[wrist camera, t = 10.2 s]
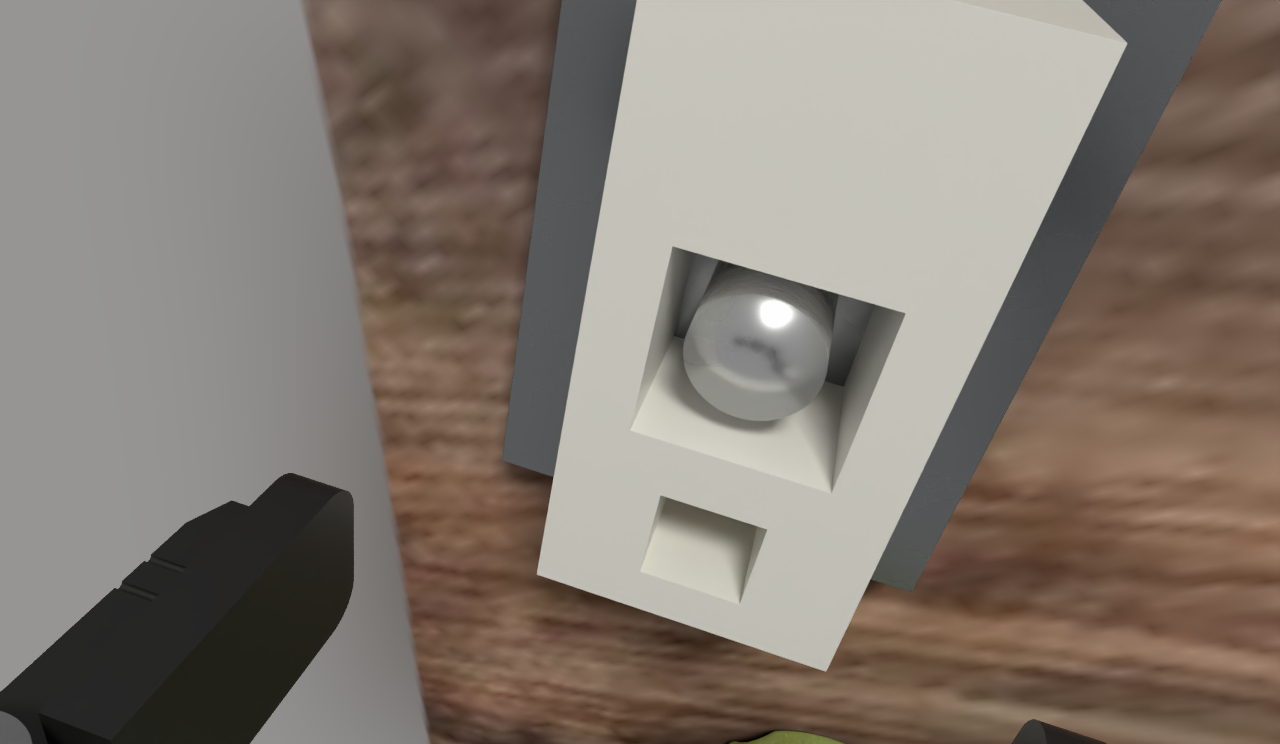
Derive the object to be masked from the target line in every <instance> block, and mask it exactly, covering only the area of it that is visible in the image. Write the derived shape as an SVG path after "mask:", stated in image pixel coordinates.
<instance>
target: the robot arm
mask: <svg viewBox="0 0 1280 744" xmlns="http://www.w3.org/2000/svg"><path fill="white" fill-rule="evenodd" d="M353 505H354V504H353V498H352V495H351V494H350V493H349V492H348V491H345V490H342V489H339V488H336V487H333V486H330V485H327V484H324V483H321V482H318V481H315V480H312V479H309V478H306V477H303V476H300V475H296V474H293V473H288V474H285V475H283V476H281V477H280V478H278V479H277V480H276V481H275V482H274V483H273V484H272V485H271V486H270V487H269V488H268V489H267V490H266V491H265V492H264V493H263V494H261V495H260V496H259V497H258V498H257V500H255V501H254V502H253V503H252V504H251V505H250V506H246V505H243V504H240V503H237V502H234V501H230V502H228V503H226V504H224V505H222V506H220V507H218V508H216V509H213V510H211V511H209V512H207V513H205V514H203V515H201V516H199V517H197V518H195V519H193V520H191V521H189V522H187V523H185V524H184V525H183V526H182V527H181V528H180V529H179V530H178V531H177V532H175V533H174V534H173V535H172V536H171V537H170V538H169V539H168V540H167V541H166V542H164V543H163V544H162V545H161V546H160V547H159V548H158V549H157V550H156V551H155V552H154V553H152V554H151V558H150V560H149V561H148V562H145V561H144V562H143V563H141V564H140V565H139V566H138V567H137V568H136V569H135V570H134V571H133V572H132V573H131V574H130V575H128V576H127V577H126V578H125V579H124V580H123V581H122V585H121V586H120V588H119V589H116V588H114V589H113V590H112V591H111V592H110V593H109V594H108V595H106V596H105V597H104V598H103V599H102V600H101V601H100V602H99V603H98V604H97V605H96V606H94V607H93V608H92V609H91V610H90V611H89V612H88V613H87V614H86V615H85V616H84V617H82V618H81V619H80V620H79V621H78V622H77V623H76V624H75V625H74V626H72V627H71V628H70V629H69V630H68V631H67V632H66V633H65V634H64V635H63V636H62V637H60V638H59V639H58V640H57V641H56V642H55V643H54V644H53V645H52V646H51V647H50V648H48V649H47V650H46V651H45V652H44V653H43V654H42V655H41V656H40V657H39V658H37V659H36V660H35V661H34V662H33V663H32V664H31V665H30V666H29V667H28V668H26V669H25V670H24V671H23V672H22V673H21V674H20V675H19V676H18V677H17V678H15V679H14V680H13V681H12V682H11V683H10V684H9V685H8V686H7V687H6V688H5V689H3V690H2V691H1V692H0V744H250V742H251V741H252V740H253V739H254V737H255V736H256V735H257V733H258V732H259V731H260V729H261V728H262V726H263V725H264V724H265V723H266V721H267V720H268V719H269V717H270V716H271V715H272V713H273V712H274V711H275V709H276V708H277V706H278V705H279V704H280V703H281V701H282V700H283V698H284V697H285V696H286V694H287V693H288V692H289V690H290V689H291V688H292V687H293V685H294V684H295V682H296V681H297V680H298V679H299V677H300V676H301V674H302V673H303V672H304V671H305V669H306V668H307V667H308V665H309V664H310V663H311V661H312V660H313V659H314V657H315V656H316V655H317V653H318V652H319V650H320V649H321V648H322V646H323V645H324V644H325V642H326V641H327V640H328V639H329V637H330V636H331V635H332V633H333V632H334V630H335V629H336V627H337V626H338V624H339V622H340V620H341V619H342V617H343V615H344V612H345V610H346V608H347V605H348V603H349V599H350V596H351V592H352V588H353V581H354V506H353ZM1012 744H1106V743H1105V742H1102V741H1099V740H1096V739H1093V738H1090V737H1087V736H1084V735H1081V734H1078V733H1074V732H1071V731H1068V730H1065V729H1062V728H1059V727H1056V726H1053V725H1050V724H1047V723H1044V722H1041V721H1038V720H1035V719H1033V720H1030V721H1028V722H1027V723H1026V724H1024V726H1023V727H1022V728H1021V730H1020V731H1019V733H1018V734H1017V736H1016V737H1015V739H1014V740H1013V742H1012Z"/></svg>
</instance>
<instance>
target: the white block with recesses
mask: <svg viewBox="0 0 1280 744" xmlns="http://www.w3.org/2000/svg"><path fill="white" fill-rule="evenodd" d="M1126 45H1127V42H1126V41H1125V40H1124V39H1123V38H1122V37H1121V36H1120V35H1119V34H1117V33H1116V32H1115V31H1114V30H1113V29H1112V28H1111V27H1110V26H1109V25H1108V24H1107V23H1106V22H1105V21H1104V20H1103V19H1102V18H1101V17H1100V16H1099V15H1098V14H1097V13H1095V12H1094V11H1093V10H1092V9H1091V8H1090V7H1089V6H1088V5H1087V4H1086V3H1085V2H1084V1H1083V0H637V2H636V8H635V14H634V20H633V25H632V31H631V37H630V43H629V48H628V54H627V60H626V65H625V71H624V77H623V83H622V88H621V94H620V100H619V106H618V111H617V117H616V123H615V129H614V134H613V140H612V146H611V151H610V157H609V163H608V169H607V174H606V180H605V186H604V192H603V197H602V203H601V209H600V215H599V220H598V226H597V232H596V238H595V243H594V249H593V255H592V260H591V266H590V272H589V278H588V283H587V289H586V295H585V301H584V306H583V312H582V318H581V324H580V329H579V335H578V341H577V346H576V352H575V358H574V364H573V369H572V375H571V381H570V387H569V392H568V398H567V404H566V410H565V415H564V421H563V427H562V432H561V438H560V444H559V450H558V455H557V461H556V467H555V473H554V478H553V484H552V490H551V496H550V501H549V507H548V513H547V519H546V524H545V530H544V536H543V541H542V547H541V553H540V559H539V564H538V570H537V575H540V576H543V577H546V578H549V579H552V580H555V581H558V582H561V583H564V584H567V585H570V586H573V587H576V588H579V589H582V590H585V591H588V592H590V593H593V594H596V595H599V596H602V597H605V598H608V599H611V600H614V601H617V602H620V603H623V604H626V605H629V606H632V607H635V608H638V609H641V610H644V611H647V612H650V613H653V614H656V615H659V616H662V617H665V618H668V619H671V620H674V621H677V622H680V623H683V624H686V625H689V626H692V627H695V628H698V629H701V630H704V631H706V632H709V633H712V634H715V635H718V636H721V637H724V638H727V639H730V640H733V641H736V642H739V643H742V644H745V645H748V646H751V647H754V648H757V649H760V650H763V651H766V652H769V653H772V654H775V655H778V656H781V657H784V658H787V659H790V660H793V661H796V662H799V663H802V664H805V665H808V666H811V667H814V668H817V669H820V670H823V671H825V672H826V671H827V669H828V667H829V665H830V662H831V660H832V658H833V656H834V654H835V652H836V650H837V648H838V646H839V644H840V642H841V640H842V637H843V635H844V633H845V631H846V629H847V627H848V625H849V623H850V621H851V619H852V617H853V615H854V612H855V610H856V608H857V606H858V604H859V602H860V600H861V598H862V596H863V594H864V592H865V590H866V587H867V585H868V583H869V581H870V579H871V577H872V575H873V573H874V571H875V569H876V567H877V565H878V562H879V560H880V558H881V556H882V554H883V552H884V550H885V548H886V546H887V544H888V542H889V540H890V537H891V535H892V533H893V531H894V529H895V527H896V525H897V523H898V521H899V519H900V517H901V514H902V512H903V510H904V508H905V506H906V504H907V502H908V500H909V498H910V496H911V494H912V492H913V489H914V487H915V485H916V483H917V481H918V479H919V477H920V475H921V473H922V471H923V469H924V467H925V464H926V462H927V460H928V458H929V456H930V454H931V452H932V450H933V448H934V446H935V444H936V442H937V439H938V437H939V435H940V433H941V431H942V429H943V427H944V425H945V423H946V421H947V419H948V417H949V414H950V412H951V410H952V408H953V406H954V404H955V402H956V400H957V398H958V396H959V394H960V392H961V389H962V387H963V385H964V383H965V381H966V379H967V377H968V375H969V373H970V371H971V369H972V366H973V364H974V362H975V360H976V358H977V356H978V354H979V352H980V350H981V348H982V346H983V344H984V341H985V339H986V337H987V335H988V333H989V331H990V329H991V327H992V325H993V323H994V321H995V319H996V316H997V314H998V312H999V310H1000V308H1001V306H1002V304H1003V302H1004V300H1005V298H1006V296H1007V294H1008V291H1009V289H1010V287H1011V285H1012V283H1013V281H1014V279H1015V277H1016V275H1017V273H1018V271H1019V269H1020V266H1021V264H1022V262H1023V260H1024V258H1025V256H1026V254H1027V252H1028V250H1029V248H1030V246H1031V243H1032V241H1033V239H1034V237H1035V235H1036V233H1037V231H1038V229H1039V227H1040V225H1041V223H1042V221H1043V218H1044V216H1045V214H1046V212H1047V210H1048V208H1049V206H1050V204H1051V202H1052V200H1053V198H1054V196H1055V193H1056V191H1057V189H1058V187H1059V185H1060V183H1061V181H1062V179H1063V177H1064V175H1065V173H1066V171H1067V168H1068V166H1069V164H1070V162H1071V160H1072V158H1073V156H1074V154H1075V152H1076V150H1077V148H1078V146H1079V143H1080V141H1081V139H1082V137H1083V135H1084V133H1085V131H1086V129H1087V127H1088V125H1089V123H1090V121H1091V118H1092V116H1093V114H1094V112H1095V110H1096V108H1097V106H1098V104H1099V102H1100V100H1101V98H1102V95H1103V93H1104V91H1105V89H1106V87H1107V85H1108V83H1109V81H1110V79H1111V77H1112V75H1113V73H1114V70H1115V68H1116V66H1117V64H1118V62H1119V60H1120V58H1121V56H1122V54H1123V52H1124V50H1125V48H1126ZM694 253H698V254H701V255H705V256H708V257H712V258H715V259H718V260H722V261H725V262H729V263H732V264H736V265H739V266H743V267H746V268H750V269H753V270H757V271H760V272H764V273H767V274H771V275H774V276H778V277H781V278H785V279H788V280H792V281H795V282H799V283H802V284H805V285H809V286H812V287H816V288H819V289H823V290H826V291H830V292H833V293H837V294H840V295H844V296H847V297H851V298H854V299H858V300H861V301H865V302H868V303H872V304H875V307H874V310H873V313H872V315H871V318H870V320H869V323H868V325H867V328H866V331H865V333H864V336H863V338H862V341H861V344H860V346H859V349H858V351H857V354H856V356H855V359H854V362H853V364H852V367H851V369H850V372H849V375H848V377H847V380H846V382H845V385H844V387H843V386H839V385H836V384H833V383H829V382H826V381H824V383H823V386H822V388H821V390H820V391H819V393H818V394H817V396H816V397H815V398H814V399H813V400H812V401H811V402H810V403H809V404H808V405H807V406H806V407H804V408H803V409H801V410H800V411H798V412H796V413H794V414H792V415H790V416H787V417H784V418H781V419H776V420H769V421H753V420H746V419H741V418H737V417H734V416H732V415H729V414H726V413H724V412H722V411H720V410H719V409H717V408H716V407H714V406H712V405H711V404H710V403H709V402H707V401H706V400H705V399H704V398H703V397H702V396H701V395H700V394H699V393H698V392H697V390H696V389H695V388H694V386H693V385H692V383H691V381H690V379H689V377H688V375H687V372H686V369H685V365H684V359H683V346H684V340H685V339H682V338H679V337H676V336H674V334H675V330H676V326H677V322H678V318H679V314H680V309H681V305H682V301H683V297H684V293H685V289H686V285H687V281H688V277H689V273H690V269H691V265H692V261H693V257H694Z"/></svg>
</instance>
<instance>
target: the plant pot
mask: <svg viewBox="0 0 1280 744" xmlns="http://www.w3.org/2000/svg"><path fill="white" fill-rule="evenodd" d="M729 744H845V743H842V742H839V741H837V740H834V739H831V738H827V737H823V736H819V735H816V734H811V733H805V732H798V731H774V732H772V733H770V734H768V735H767V736H764V737H762V738H759V739H757V740H754V741H750V742H737V741H733V742H731V743H729Z"/></svg>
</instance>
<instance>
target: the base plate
mask: <svg viewBox="0 0 1280 744" xmlns="http://www.w3.org/2000/svg"><path fill="white" fill-rule="evenodd" d="M1083 1H1084V2H1085V3H1086V4H1087V5H1088V6H1089V7H1090V8H1091V9H1092V10H1093V11H1094V12H1095V13H1097V14H1098V15H1099V16H1100V17H1101V18H1102V19H1103V20H1104V21H1105V22H1106V23H1107V24H1108V25H1109V26H1110V27H1111V28H1112V29H1113V30H1114V31H1115V32H1116V33H1117V34H1119V35H1120V36H1121V37H1122V38H1123V39H1124V40H1125V41H1126V42H1127V45H1126V48H1125V50H1124V52H1123V54H1122V56H1121V58H1120V60H1119V62H1118V64H1117V66H1116V68H1115V70H1114V73H1113V75H1112V77H1111V79H1110V81H1109V83H1108V85H1107V87H1106V89H1105V91H1104V93H1103V95H1102V98H1101V100H1100V102H1099V104H1098V106H1097V108H1096V110H1095V112H1094V114H1093V116H1092V118H1091V121H1090V123H1089V125H1088V127H1087V129H1086V131H1085V133H1084V135H1083V137H1082V139H1081V141H1080V143H1079V146H1078V148H1077V150H1076V152H1075V154H1074V156H1073V158H1072V160H1071V162H1070V164H1069V166H1068V168H1067V171H1066V173H1065V175H1064V177H1063V179H1062V181H1061V183H1060V185H1059V187H1058V189H1057V191H1056V193H1055V196H1054V198H1053V200H1052V202H1051V204H1050V206H1049V208H1048V210H1047V212H1046V214H1045V216H1044V218H1043V221H1042V223H1041V225H1040V227H1039V229H1038V231H1037V233H1036V235H1035V237H1034V239H1033V241H1032V243H1031V246H1030V248H1029V250H1028V252H1027V254H1026V256H1025V258H1024V260H1023V262H1022V264H1021V266H1020V269H1019V271H1018V273H1017V275H1016V277H1015V279H1014V281H1013V283H1012V285H1011V287H1010V289H1009V291H1008V294H1007V296H1006V298H1005V300H1004V302H1003V304H1002V306H1001V308H1000V310H999V312H998V314H997V316H996V319H995V321H994V323H993V325H992V327H991V329H990V331H989V333H988V335H987V337H986V339H985V341H984V344H983V346H982V348H981V350H980V352H979V354H978V356H977V358H976V360H975V362H974V364H973V366H972V369H971V371H970V373H969V375H968V377H967V379H966V381H965V383H964V385H963V387H962V389H961V392H960V394H959V396H958V398H957V400H956V402H955V404H954V406H953V408H952V410H951V412H950V414H949V417H948V419H947V421H946V423H945V425H944V427H943V429H942V431H941V433H940V435H939V437H938V439H937V442H936V444H935V446H934V448H933V450H932V452H931V454H930V456H929V458H928V460H927V462H926V464H925V467H924V469H923V471H922V473H921V475H920V477H919V479H918V481H917V483H916V485H915V487H914V489H913V492H912V494H911V496H910V498H909V500H908V502H907V504H906V506H905V508H904V510H903V512H902V514H901V517H900V519H899V521H898V523H897V525H896V527H895V529H894V531H893V533H892V535H891V537H890V540H889V542H888V544H887V546H886V548H885V550H884V552H883V554H882V556H881V558H880V560H879V562H878V565H877V567H876V569H875V571H874V573H873V575H872V577H871V580H874V581H877V582H880V583H883V584H886V585H889V586H892V587H895V588H899V589H902V590H905V591H908V592H912V590H913V588H914V586H915V585H916V583H917V581H918V579H919V577H920V575H921V573H922V571H923V569H924V567H925V565H926V564H927V562H928V560H929V558H930V556H931V554H932V552H933V550H934V548H935V546H936V544H937V543H938V541H939V539H940V537H941V535H942V533H943V531H944V529H945V527H946V525H947V523H948V522H949V520H950V518H951V516H952V514H953V512H954V510H955V508H956V506H957V504H958V502H959V501H960V499H961V497H962V495H963V493H964V491H965V489H966V487H967V485H968V483H969V482H970V480H971V478H972V476H973V474H974V472H975V470H976V468H977V466H978V464H979V462H980V461H981V459H982V457H983V455H984V453H985V451H986V449H987V447H988V445H989V443H990V441H991V440H992V438H993V436H994V434H995V432H996V430H997V428H998V426H999V424H1000V422H1001V420H1002V419H1003V417H1004V415H1005V413H1006V411H1007V409H1008V407H1009V405H1010V403H1011V401H1012V400H1013V398H1014V396H1015V394H1016V392H1017V390H1018V388H1019V386H1020V384H1021V382H1022V380H1023V379H1024V377H1025V375H1026V373H1027V371H1028V369H1029V367H1030V365H1031V363H1032V361H1033V359H1034V358H1035V356H1036V354H1037V352H1038V350H1039V348H1040V346H1041V344H1042V342H1043V340H1044V338H1045V337H1046V335H1047V333H1048V331H1049V329H1050V327H1051V325H1052V323H1053V321H1054V319H1055V317H1056V316H1057V314H1058V312H1059V310H1060V308H1061V306H1062V304H1063V302H1064V300H1065V298H1066V297H1067V295H1068V293H1069V291H1070V289H1071V287H1072V285H1073V283H1074V281H1075V279H1076V277H1077V276H1078V274H1079V272H1080V270H1081V268H1082V266H1083V264H1084V262H1085V260H1086V258H1087V256H1088V255H1089V253H1090V251H1091V249H1092V247H1093V245H1094V243H1095V241H1096V239H1097V237H1098V235H1099V234H1100V232H1101V230H1102V228H1103V226H1104V224H1105V222H1106V220H1107V218H1108V216H1109V214H1110V213H1111V211H1112V209H1113V207H1114V205H1115V203H1116V201H1117V199H1118V197H1119V195H1120V194H1121V192H1122V190H1123V188H1124V186H1125V184H1126V182H1127V180H1128V178H1129V176H1130V174H1131V173H1132V171H1133V169H1134V167H1135V165H1136V163H1137V161H1138V159H1139V157H1140V155H1141V153H1142V152H1143V150H1144V148H1145V146H1146V144H1147V142H1148V140H1149V138H1150V136H1151V134H1152V132H1153V131H1154V129H1155V127H1156V125H1157V123H1158V121H1159V119H1160V117H1161V115H1162V113H1163V111H1164V110H1165V108H1166V106H1167V104H1168V102H1169V100H1170V98H1171V96H1172V94H1173V92H1174V91H1175V89H1176V87H1177V85H1178V83H1179V81H1180V79H1181V77H1182V75H1183V73H1184V71H1185V70H1186V68H1187V66H1188V64H1189V62H1190V60H1191V58H1192V56H1193V54H1194V52H1195V50H1196V49H1197V47H1198V45H1199V43H1200V41H1201V39H1202V37H1203V35H1204V33H1205V31H1206V29H1207V28H1208V26H1209V24H1210V22H1211V20H1212V18H1213V16H1214V14H1215V12H1216V10H1217V8H1218V7H1219V5H1220V3H1221V1H1222V0H1083ZM636 2H637V0H562V4H561V11H560V19H559V27H558V34H557V42H556V50H555V57H554V65H553V73H552V80H551V88H550V96H549V103H548V111H547V119H546V126H545V134H544V142H543V150H542V157H541V165H540V173H539V180H538V188H537V196H536V203H535V211H534V219H533V226H532V234H531V242H530V249H529V257H528V265H527V272H526V280H525V288H524V296H523V303H522V311H521V319H520V326H519V334H518V342H517V349H516V357H515V365H514V372H513V380H512V388H511V395H510V403H509V411H508V418H507V426H506V434H505V442H504V449H503V457H502V461H505V462H508V463H512V464H515V465H518V466H521V467H524V468H527V469H530V470H533V471H536V472H539V473H542V474H546V475H549V476H552V477H554V473H555V467H556V461H557V455H558V450H559V444H560V438H561V432H562V427H563V421H564V415H565V410H566V404H567V398H568V392H569V387H570V381H571V375H572V369H573V364H574V358H575V352H576V346H577V341H578V335H579V329H580V324H581V318H582V312H583V306H584V301H585V295H586V289H587V283H588V278H589V272H590V266H591V260H592V255H593V249H594V243H595V238H596V232H597V226H598V220H599V215H600V209H601V203H602V197H603V192H604V186H605V180H606V174H607V169H608V163H609V157H610V151H611V146H612V140H613V134H614V129H615V123H616V117H617V111H618V106H619V100H620V94H621V88H622V83H623V77H624V71H625V65H626V60H627V54H628V48H629V43H630V37H631V31H632V25H633V20H634V14H635V8H636ZM874 307H875V304H872V303H868V302H865V301H861V300H858V299H854V298H851V297H847V296H844V295H840V294H837V293H833V292H830V291H826V290H823V289H819V288H816V287H812V286H809V285H805V284H802V283H799V282H795V281H792V280H788V279H785V278H781V277H778V276H774V275H771V274H767V273H764V272H760V271H757V270H753V269H750V268H746V267H743V266H739V265H736V264H732V263H729V262H725V261H722V260H718V259H715V258H712V257H708V256H705V255H701V254H698V253H694V257H693V261H692V265H691V269H690V273H689V277H688V281H687V285H686V289H685V293H684V297H683V301H682V305H681V309H680V314H679V318H678V322H677V326H676V330H675V334H674V336H676V337H679V338H682V339H685V340H684V346H683V359H684V365H685V369H686V372H687V375H688V377H689V379H690V381H691V383H692V385H693V386H694V388H695V389H696V390H697V392H698V393H699V394H700V395H701V396H702V397H703V398H704V399H705V400H706V401H707V402H709V403H710V404H711V405H712V406H714V407H716V408H717V409H719V410H720V411H722V412H724V413H726V414H729V415H732V416H734V417H737V418H741V419H746V420H753V421H769V420H776V419H781V418H784V417H787V416H790V415H792V414H794V413H796V412H798V411H800V410H801V409H803V408H804V407H806V406H807V405H808V404H809V403H810V402H811V401H812V400H813V399H814V398H815V397H816V396H817V394H818V393H819V391H820V390H821V388H822V386H823V383H824V381H826V382H829V383H833V384H836V385H839V386H843V387H844V385H845V382H846V380H847V377H848V375H849V372H850V369H851V367H852V364H853V362H854V359H855V356H856V354H857V351H858V349H859V346H860V344H861V341H862V338H863V336H864V333H865V331H866V328H867V325H868V323H869V320H870V318H871V315H872V313H873V310H874Z"/></svg>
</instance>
